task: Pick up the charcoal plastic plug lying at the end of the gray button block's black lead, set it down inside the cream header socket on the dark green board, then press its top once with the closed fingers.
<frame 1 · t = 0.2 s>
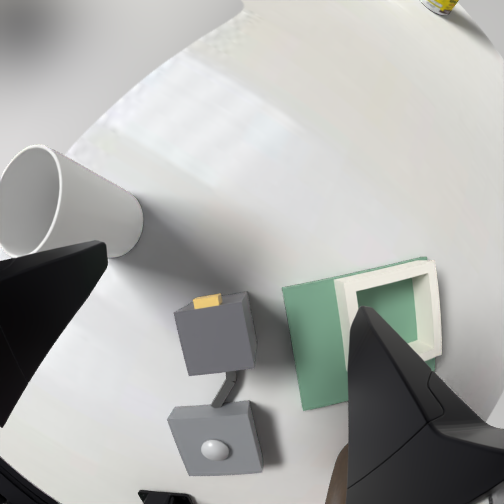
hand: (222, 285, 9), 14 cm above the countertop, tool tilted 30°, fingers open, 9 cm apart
plant pot: (368, 454, 23), on the countertop
plug: (226, 321, 24), on the countertop
board: (366, 334, 23), on the countertop
supplement bottle: (432, 5, 24), on the countertop
gray button block: (219, 434, 23), on the countertop
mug: (102, 217, 25), on the countertop
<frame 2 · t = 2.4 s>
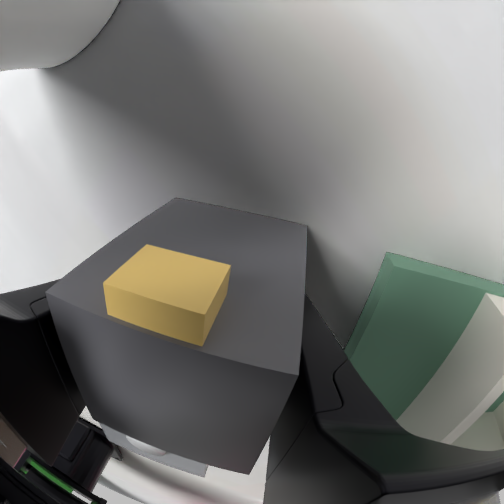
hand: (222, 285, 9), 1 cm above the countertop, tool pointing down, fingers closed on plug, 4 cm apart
plug: (230, 269, 10), on the countertop, touching gripper
board: (451, 380, 11), on the countertop
gray button block: (162, 409, 15), on the countertop
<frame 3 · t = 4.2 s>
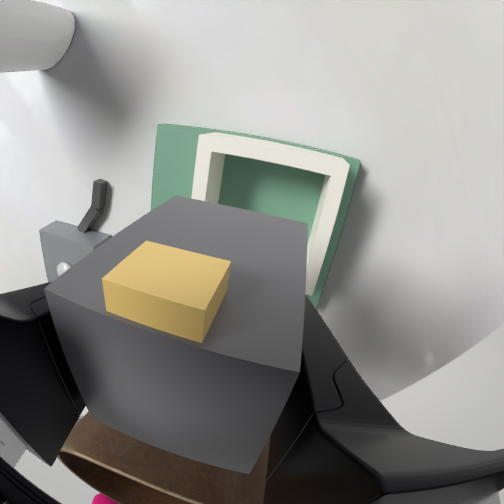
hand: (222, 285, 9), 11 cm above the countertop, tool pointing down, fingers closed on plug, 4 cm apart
plant pot: (217, 355, 26), on the countertop
plug: (230, 267, 10), point 10 cm above the countertop, touching gripper
board: (243, 215, 20), on the countertop
gray button block: (84, 261, 25), on the countertop
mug: (47, 34, 16), on the countertop
when the fingers open (4 cm above the countertop, at t = 6.1 s): plug drops 2 cm, resting on board.
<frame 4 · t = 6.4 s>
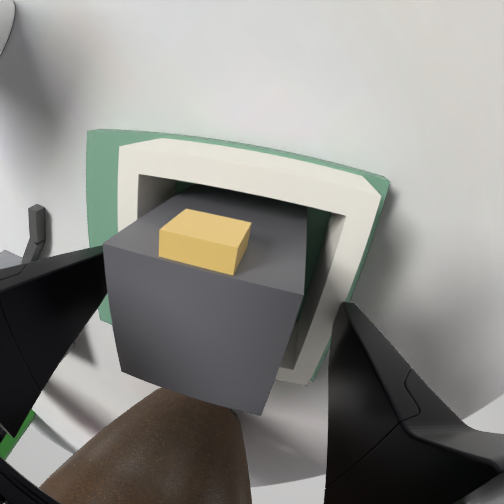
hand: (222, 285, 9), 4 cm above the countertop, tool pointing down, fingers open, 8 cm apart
plant pot: (194, 411, 20), on the countertop
plug: (241, 245, 12), point 1 cm above the countertop, touching board
hardback book: (2, 383, 35), on the countertop
board: (211, 259, 14), on the countertop
gray button block: (36, 298, 18), on the countertop
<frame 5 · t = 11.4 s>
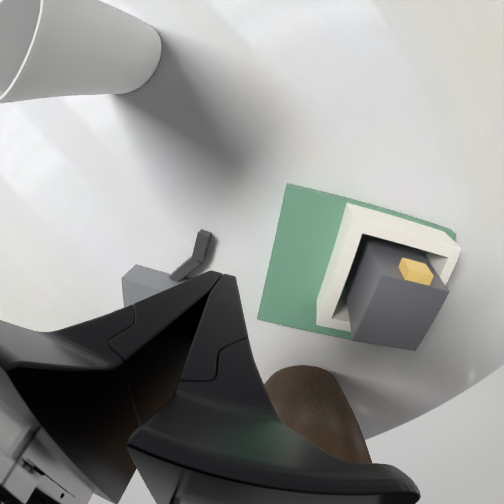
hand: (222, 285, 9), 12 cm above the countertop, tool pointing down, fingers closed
plant pot: (302, 385, 28), on the countertop
plug: (381, 266, 20), point 1 cm above the countertop, touching board
board: (354, 274, 21), on the countertop
gray button block: (170, 306, 26), on the countertop
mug: (117, 49, 17), on the countertop
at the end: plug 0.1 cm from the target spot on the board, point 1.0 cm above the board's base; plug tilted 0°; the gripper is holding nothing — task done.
